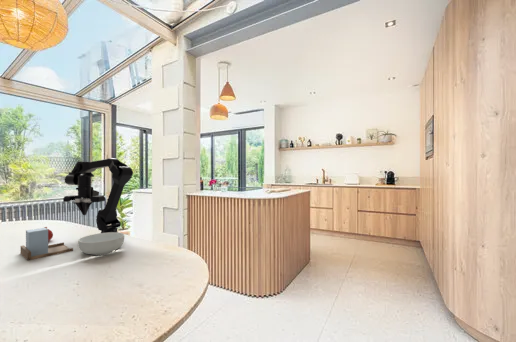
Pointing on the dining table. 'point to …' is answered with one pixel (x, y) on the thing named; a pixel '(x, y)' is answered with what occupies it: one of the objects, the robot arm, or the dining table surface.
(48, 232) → the onion
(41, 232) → the blue block
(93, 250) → the cereal bowl
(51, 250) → the box
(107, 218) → the robot arm
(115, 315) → the dining table surface
